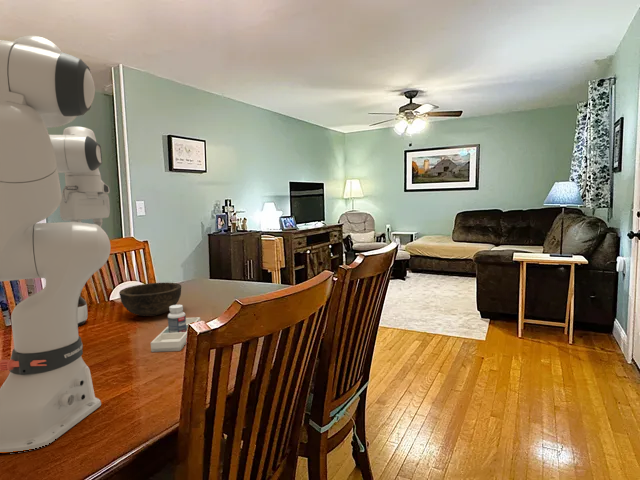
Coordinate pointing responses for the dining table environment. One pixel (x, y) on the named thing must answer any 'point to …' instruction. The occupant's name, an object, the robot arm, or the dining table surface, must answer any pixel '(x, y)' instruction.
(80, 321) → the spread jar
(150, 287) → the bowl
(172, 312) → the pill bottle
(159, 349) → the white plastic tray
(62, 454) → the dining table surface
